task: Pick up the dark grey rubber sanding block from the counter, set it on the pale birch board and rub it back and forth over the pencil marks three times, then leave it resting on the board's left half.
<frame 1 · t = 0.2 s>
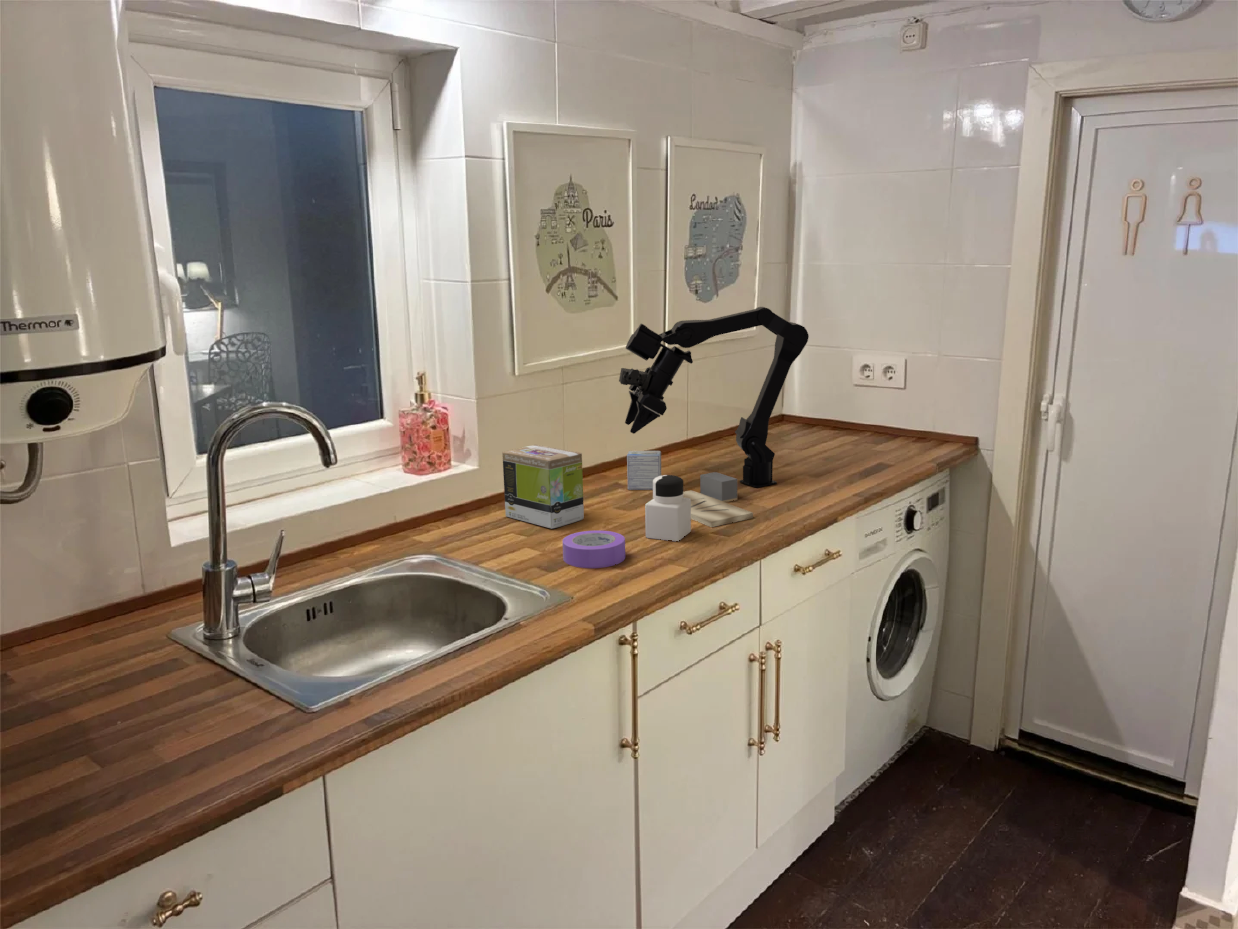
hand: (629, 428, 220), 15 cm above the worktop, tool tilted 30°, fingers open, 9 cm apart
board: (700, 510, 205), on the worktop
medicine box: (644, 488, 224), on the worktop
masking tape: (594, 559, 177), on the worktop
medicine bottle: (668, 536, 189), on the worktop
sanding block: (718, 498, 215), on the worktop
tea box: (544, 519, 202), on the worktop
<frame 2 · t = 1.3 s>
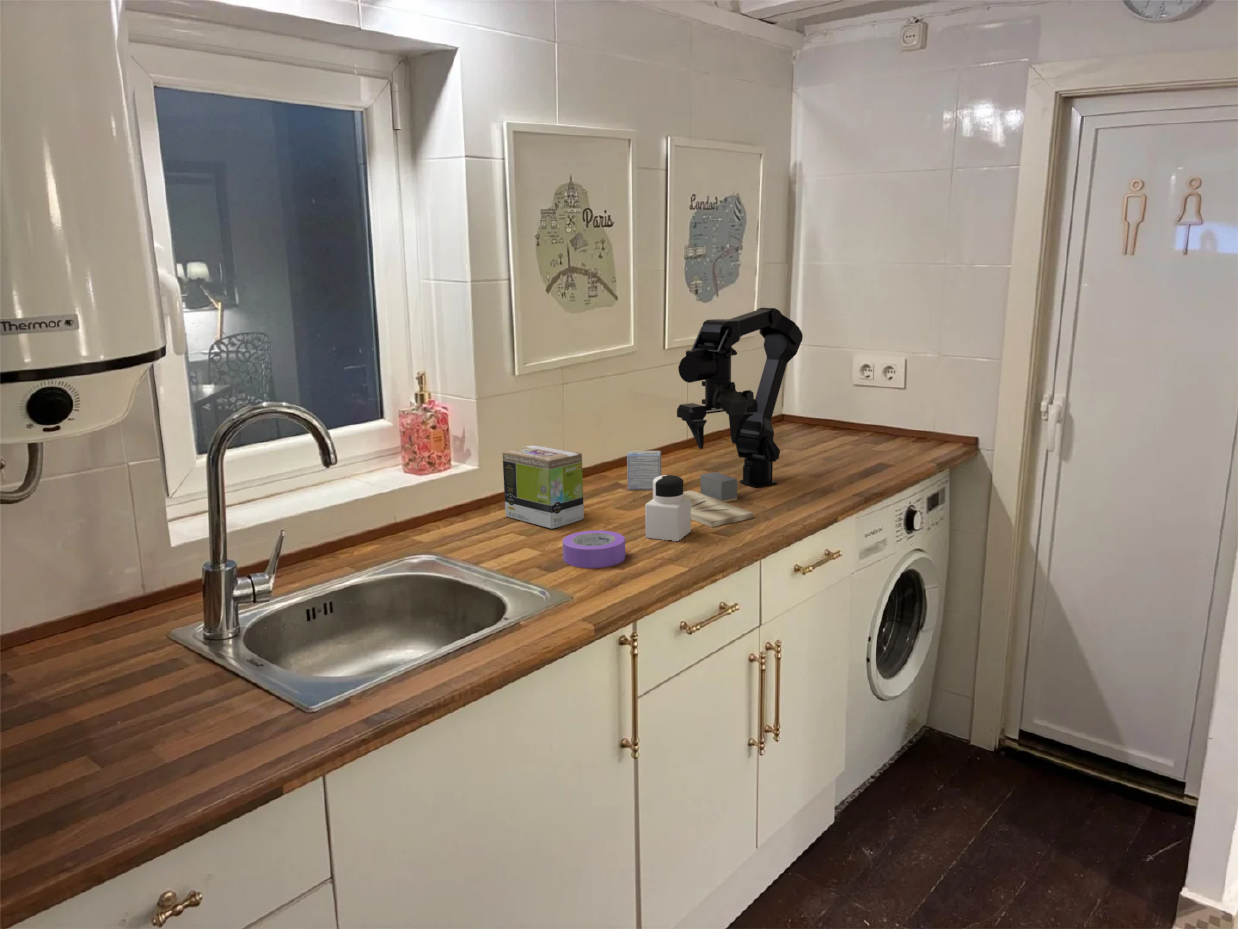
hand: (717, 446, 212), 12 cm above the worktop, tool pointing down, fingers open, 9 cm apart
nothing on the worktop moved.
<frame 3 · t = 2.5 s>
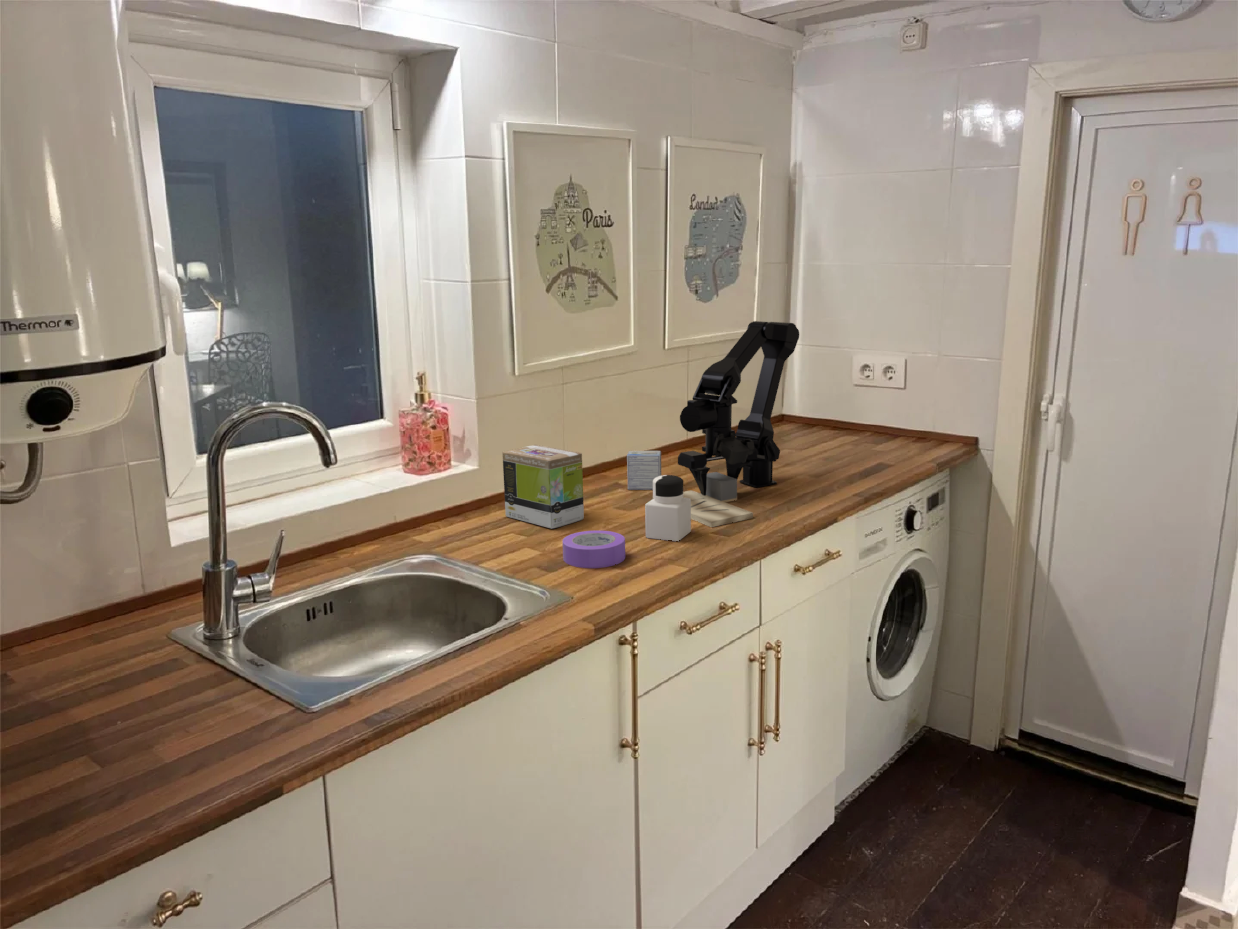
hand: (717, 492, 214), 1 cm above the worktop, tool pointing down, fingers open, 7 cm apart
nothing on the worktop moved.
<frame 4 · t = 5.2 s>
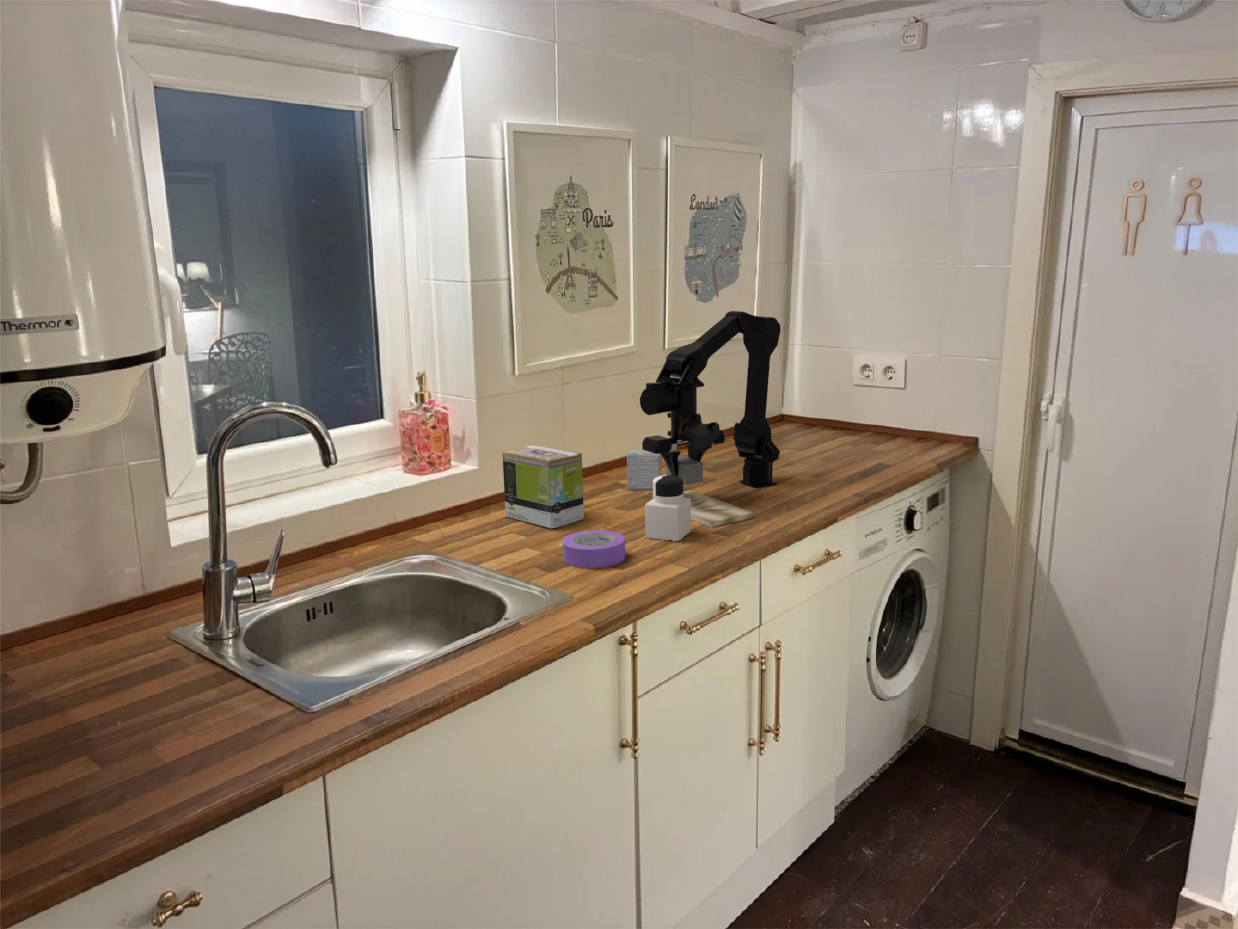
hand: (684, 477, 210), 6 cm above the worktop, tool pointing down, fingers closed on sanding block, 4 cm apart
sanding block: (684, 482, 210), point 5 cm above the worktop, touching gripper
everything else where it was.
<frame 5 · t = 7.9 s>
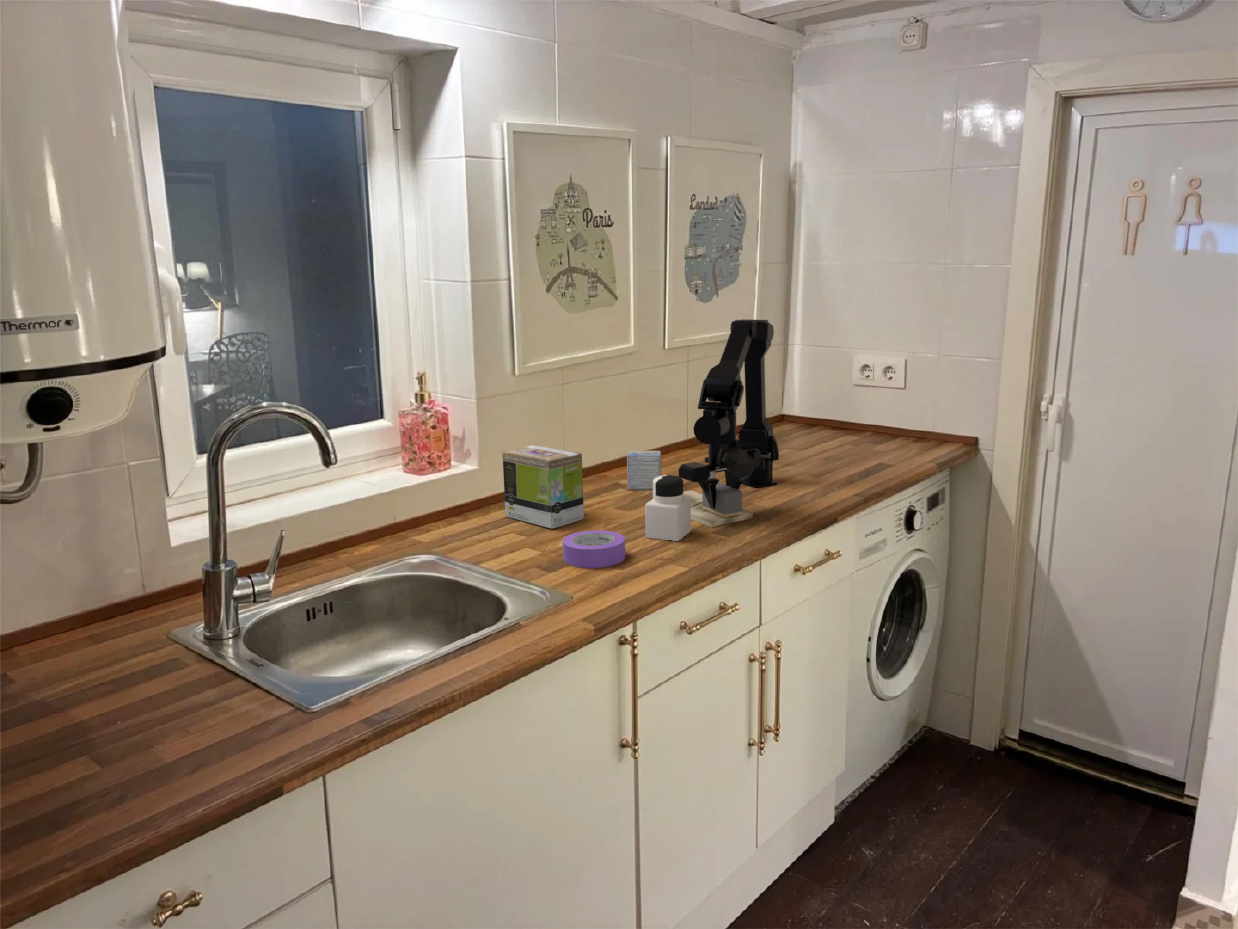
hand: (721, 506, 199), 2 cm above the worktop, tool pointing down, fingers closed on sanding block, 4 cm apart
sanding block: (721, 511, 199), point 1 cm above the worktop, touching gripper
everything else where it was.
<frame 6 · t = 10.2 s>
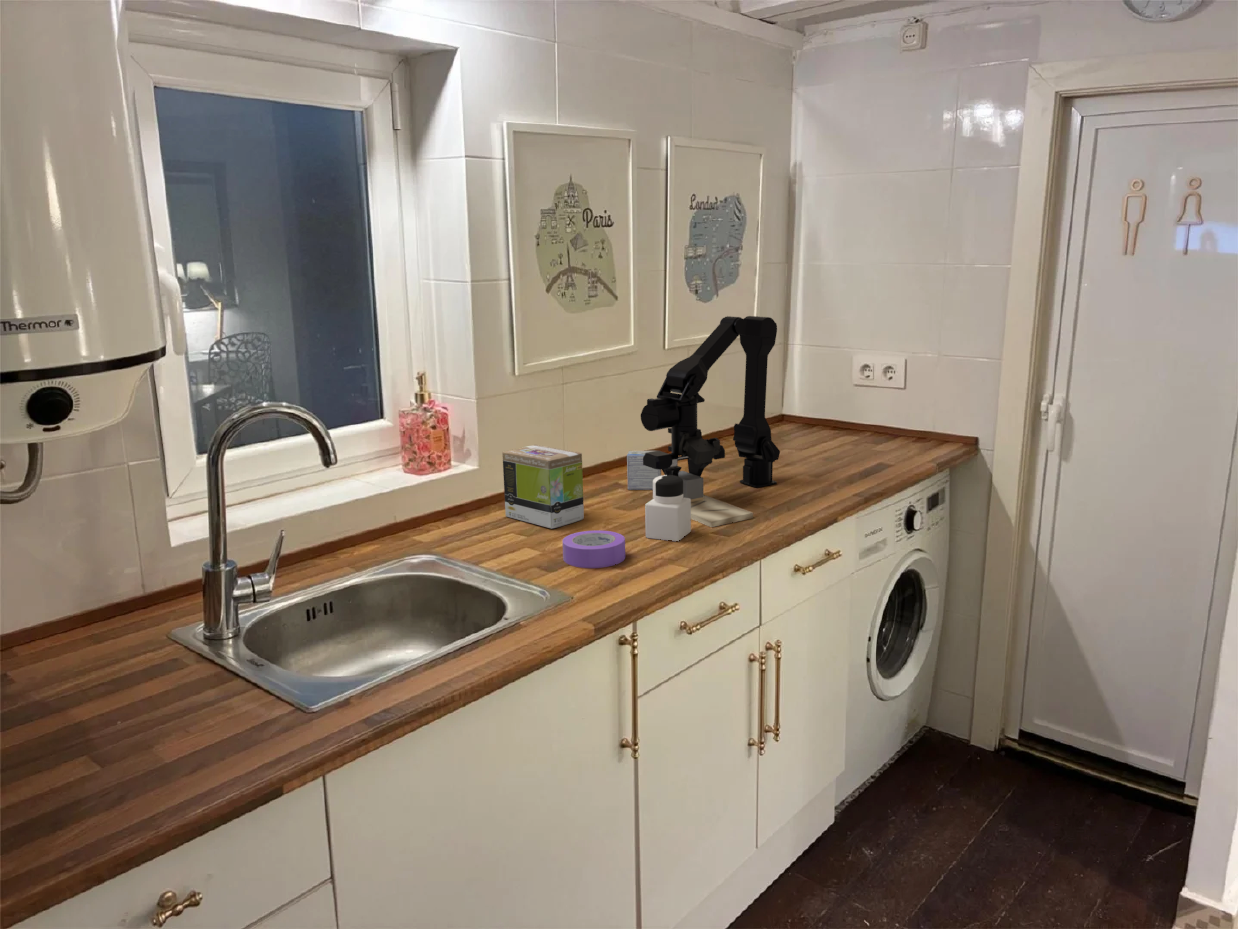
hand: (684, 492, 210), 2 cm above the worktop, tool pointing down, fingers closed on sanding block, 4 cm apart
sanding block: (684, 497, 210), point 1 cm above the worktop, touching gripper
everything else where it was.
when the fingers open (2 cm above the worktop, at t = 12.6 s): sanding block stays where it is, resting on board.
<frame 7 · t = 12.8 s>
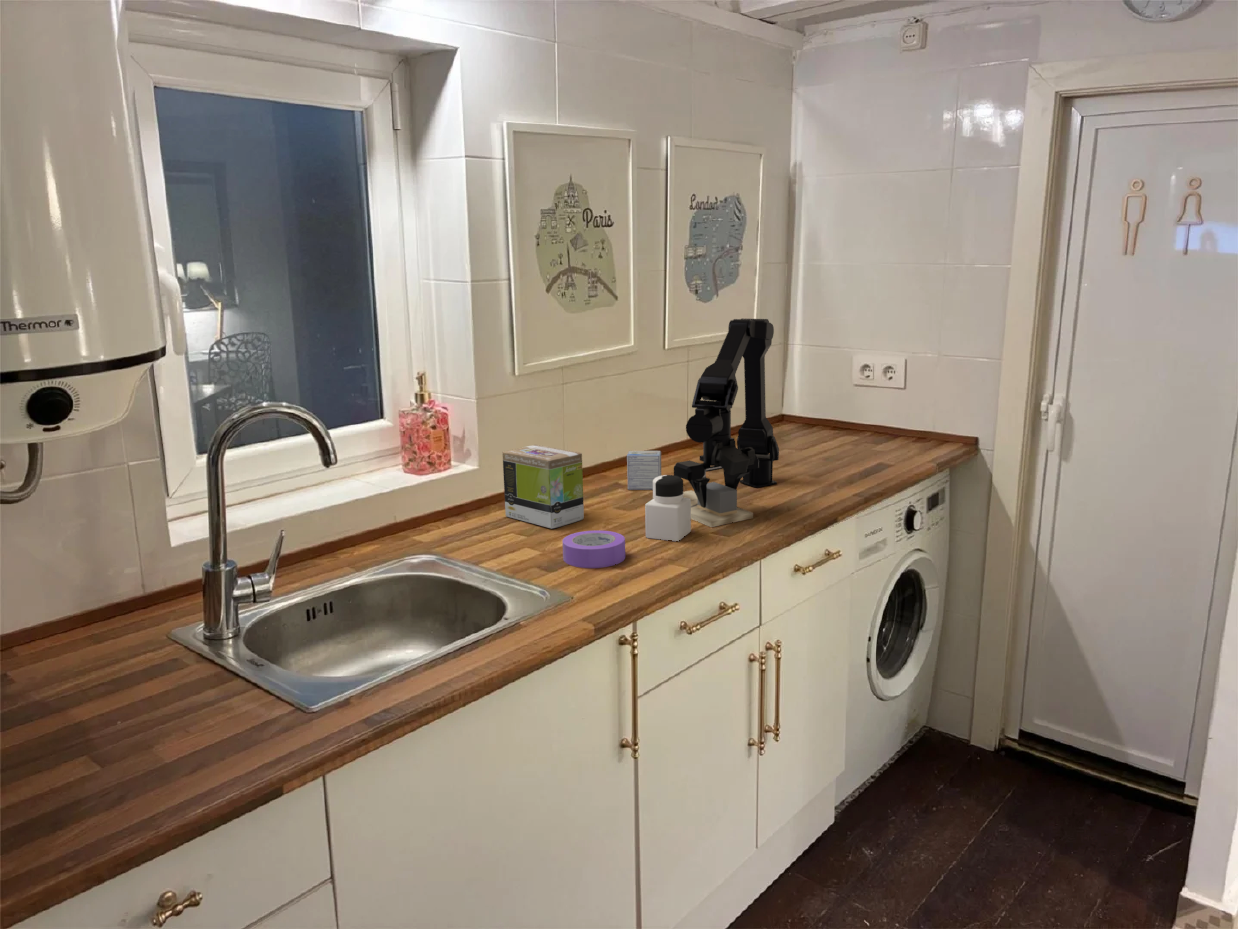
hand: (716, 504, 201), 2 cm above the worktop, tool pointing down, fingers open, 7 cm apart
sanding block: (716, 510, 201), point 1 cm above the worktop, touching board
everything else where it was.
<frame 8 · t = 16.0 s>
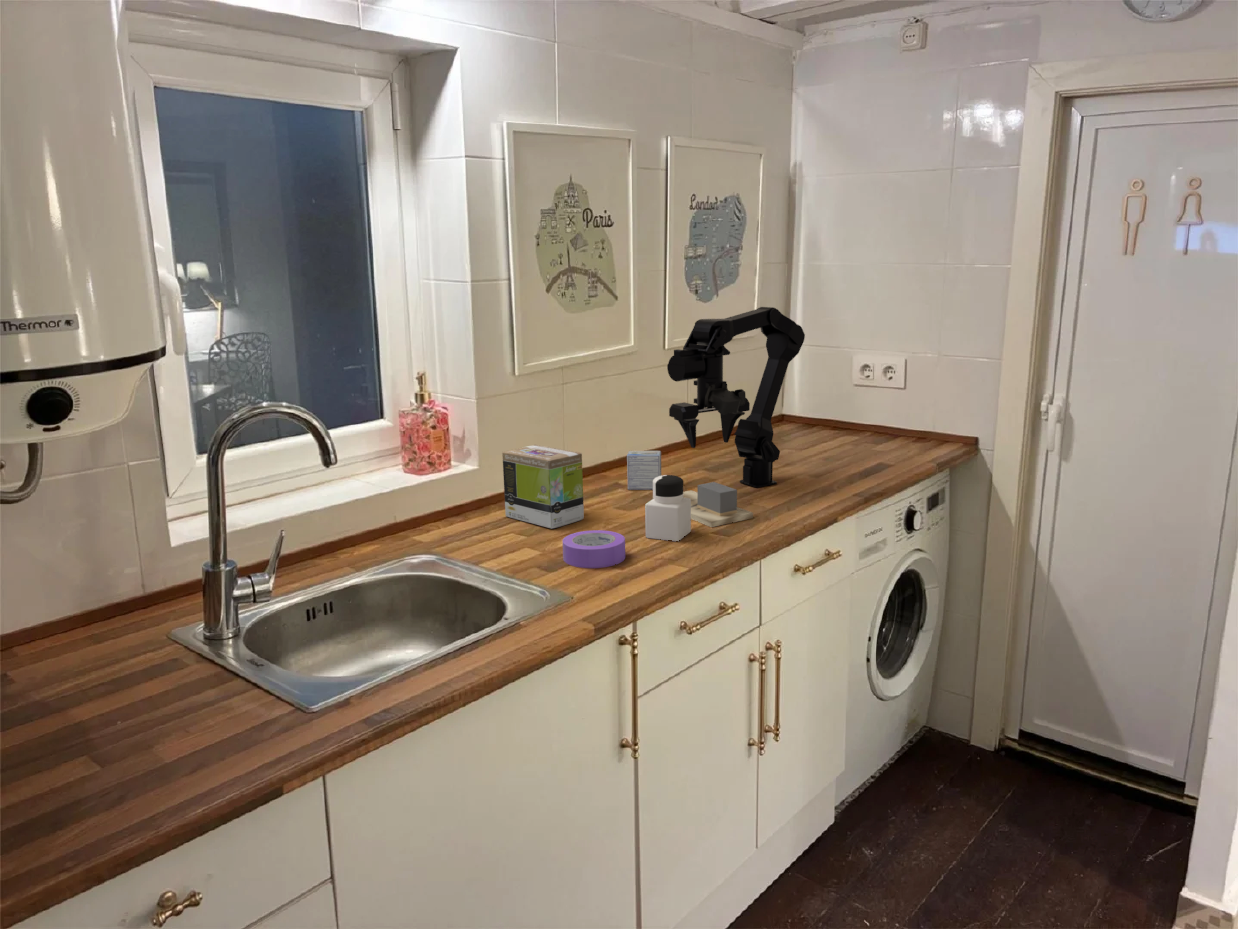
hand: (709, 445, 213), 12 cm above the worktop, tool pointing down, fingers open, 9 cm apart
nothing on the worktop moved.
at the end: sanding block inside the target area (0.5 cm from its centre), point 1.2 cm above the worktop; sanding block tilted 0°; the gripper is holding nothing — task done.
